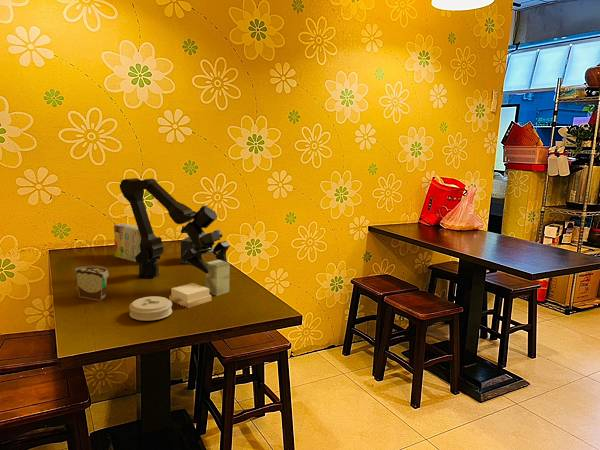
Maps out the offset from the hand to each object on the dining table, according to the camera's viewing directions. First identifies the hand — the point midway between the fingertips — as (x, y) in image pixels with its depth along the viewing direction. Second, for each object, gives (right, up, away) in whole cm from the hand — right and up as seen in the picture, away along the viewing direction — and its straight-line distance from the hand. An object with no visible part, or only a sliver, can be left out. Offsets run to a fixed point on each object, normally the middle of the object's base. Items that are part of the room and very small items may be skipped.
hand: (217, 270), depth 165 cm
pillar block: (0, -8, +1) cm, 8 cm away
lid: (-17, -12, -22) cm, 30 cm away
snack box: (-44, +1, +39) cm, 59 cm away
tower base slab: (-8, -10, -9) cm, 15 cm away
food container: (-40, -8, -8) cm, 42 cm away
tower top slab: (-8, -8, -9) cm, 14 cm away
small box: (-19, 0, +40) cm, 45 cm away
